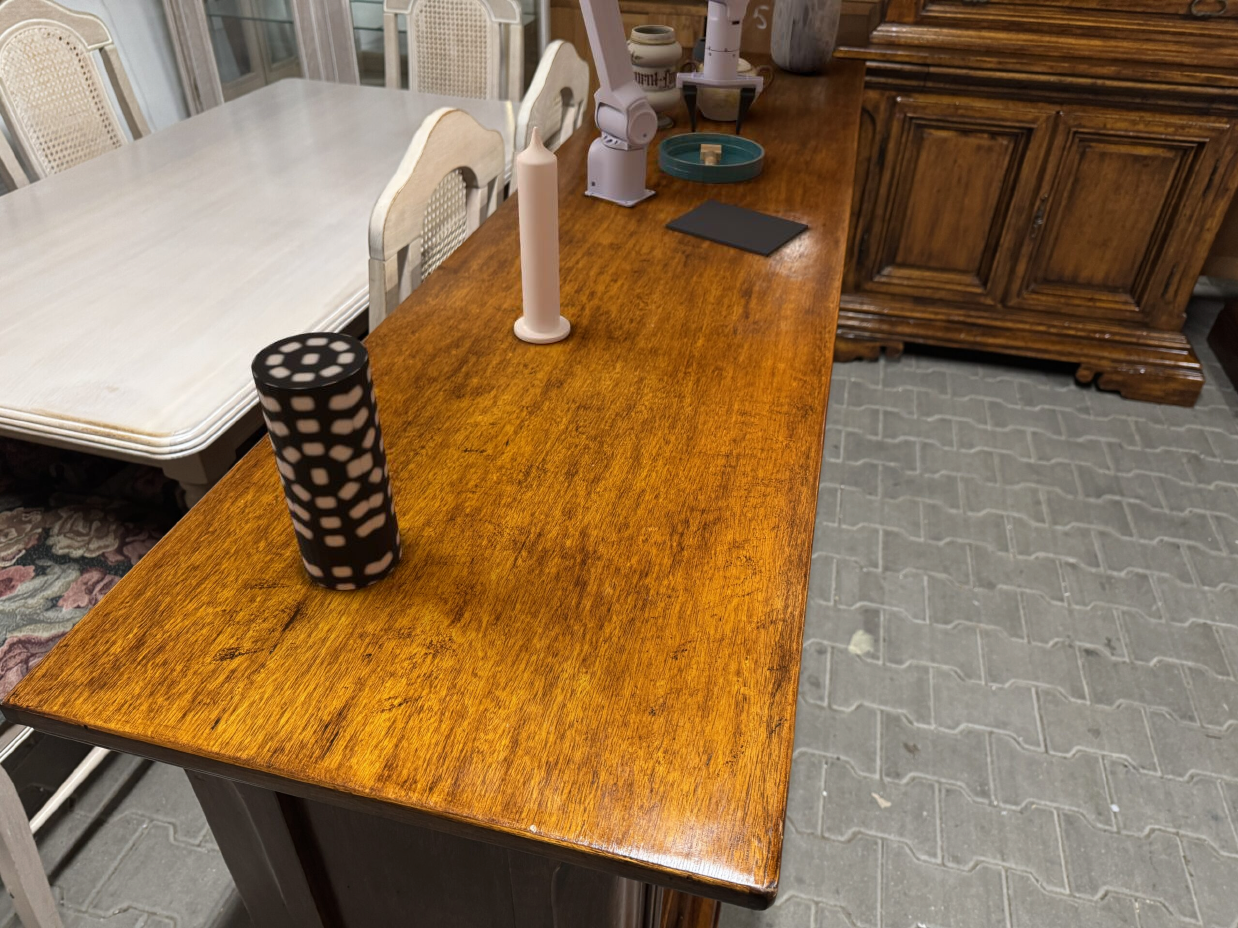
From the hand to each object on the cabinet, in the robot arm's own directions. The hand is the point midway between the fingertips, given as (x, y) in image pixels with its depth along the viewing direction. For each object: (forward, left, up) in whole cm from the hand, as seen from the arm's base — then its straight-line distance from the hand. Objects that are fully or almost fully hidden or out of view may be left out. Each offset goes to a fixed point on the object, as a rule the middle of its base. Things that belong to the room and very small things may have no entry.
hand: (715, 132), depth 153 cm
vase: (-23, +82, -8) cm, 85 cm away
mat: (+15, -18, -8) cm, 25 cm away
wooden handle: (-3, +4, -7) cm, 9 cm away
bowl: (-3, +4, -8) cm, 9 cm away
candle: (+12, -63, -8) cm, 65 cm away
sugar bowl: (-18, +35, -8) cm, 40 cm away
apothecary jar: (-27, +20, -8) cm, 34 cm away
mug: (-31, +50, -8) cm, 59 cm away
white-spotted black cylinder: (+25, -105, -8) cm, 109 cm away
